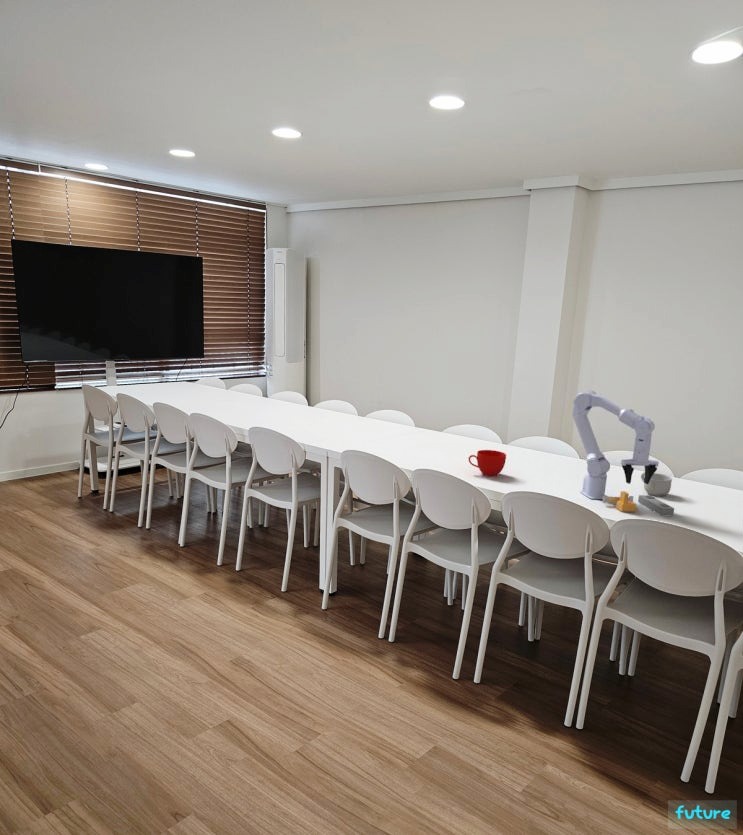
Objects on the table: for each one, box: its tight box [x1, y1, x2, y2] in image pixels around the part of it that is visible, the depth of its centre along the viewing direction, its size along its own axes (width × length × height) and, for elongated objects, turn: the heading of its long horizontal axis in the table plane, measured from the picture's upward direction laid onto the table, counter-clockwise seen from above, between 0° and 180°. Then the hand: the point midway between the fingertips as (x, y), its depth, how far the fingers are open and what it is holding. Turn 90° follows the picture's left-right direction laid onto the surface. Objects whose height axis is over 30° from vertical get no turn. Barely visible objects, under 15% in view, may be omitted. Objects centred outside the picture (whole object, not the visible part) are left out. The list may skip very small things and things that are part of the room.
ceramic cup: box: [468, 449, 507, 477], centre depth 279 cm, size 13×17×10 cm
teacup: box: [640, 472, 673, 497], centre depth 265 cm, size 14×11×8 cm
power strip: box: [637, 494, 675, 517], centre depth 243 cm, size 16×5×3 cm, turn 8°
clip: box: [602, 495, 634, 504], centre depth 244 cm, size 12×2×4 cm, turn 91°
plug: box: [615, 490, 637, 513], centre depth 239 cm, size 4×6×7 cm
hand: (637, 483), depth 244 cm, fingers open, 7 cm apart
